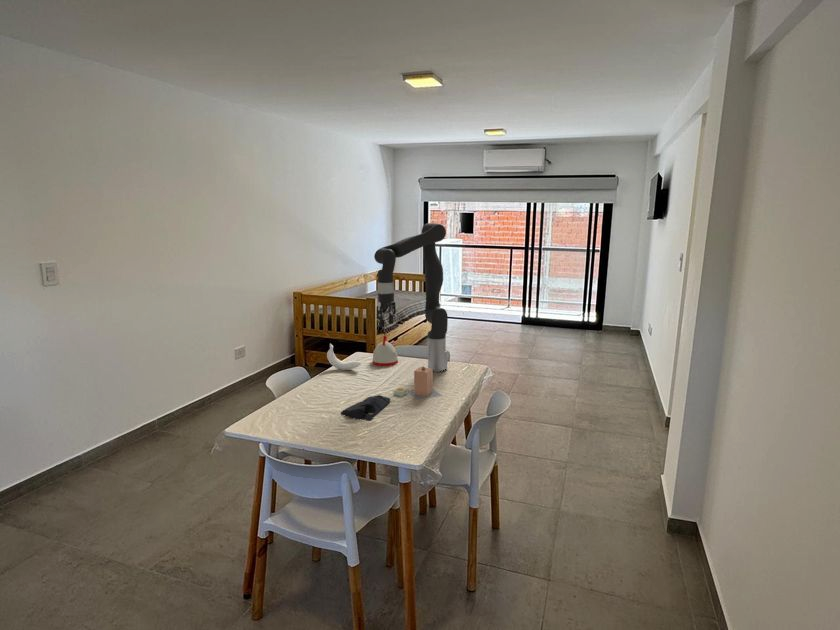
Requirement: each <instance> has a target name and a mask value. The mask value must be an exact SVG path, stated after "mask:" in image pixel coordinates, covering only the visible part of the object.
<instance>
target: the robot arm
mask: <svg viewBox="0 0 840 630" xmlns="http://www.w3.org/2000/svg"><path fill="white" fill-rule="evenodd" d="M446 234H447V230H446V227H445V226H444V224H442V223H439V222H438V223H437V222H427V223H424V225H423V226H422V229H421V233H420V234H416V235H413V236H409V237H406V238H403V239H401V240H399V241H396V242H395V243H393V244H389V245H385V246H383V247H381V248H379V249H377V250H376V251H375V252H374V257H373V258H374V261H375V262H376V263H377V264H380V265H381V264H382V267H381V269H379V270H378V272H377V301H378V303H380V305H377V306H376V319H377V320H379V328H381V329H383V328H385V327H386V326H385V325H386V324H385V322H386V321H385V318H386V316H387V315H388V324H389V325H393V324H394V316H395V315H396V313H397V310H396V306H397V305H396V302H395V287H394V270H395V267H396V260H397V258H402V257H404V256H406V255H408V254H410V253H412V252H413V251H417V250H419V249H420V248H423V259H424V261H423V262H424V282H425V283H424V284H425V306H424V307H425V309H424V315H425V316H424V317H425V320H426V321H427V322H428V323H430V324H431V326H430V327H431V328H430V330H429V331H428V333H427V368H431V369H433V371H434V372H433V373H440V371H441V372H444V371H446V370H445V369H447V370H448V351H446V350H447V349H446V348H447V346H446V345H447V344H446V342H447V341H446V340H447V339H446V338H447V337H446V336H447V332H448V324H449V323H448V321H449V317H448V312H447V310H446V309H444V308H443V307H441V306H440V292H441V289H442V287H443V283H444V268H443V264H442V262H441V260H440V257H439V256H438V253H437V250H436V243H438V242H441V241H443V240H444V239H445V237H446ZM443 370H444V371H443Z"/></svg>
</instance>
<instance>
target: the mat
mask: <svg viewBox="0 0 840 630" xmlns="http://www.w3.org/2000/svg"><path fill="white" fill-rule="evenodd" d="M407 393H409V394H410V395H411V396H412V397H414V399H416V400H417V401H420V400H425V399H426V400H427V399H430V398H437V397H442V396H443V395H442V394H441V393H439V392H438V391H437V390H436V389H434V388H433V392H432V393H431V394H430V395H428V396H421V395H415V390H414V389H412V390H407Z"/></svg>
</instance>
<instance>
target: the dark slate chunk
mask: <svg viewBox="0 0 840 630" xmlns="http://www.w3.org/2000/svg"><path fill="white" fill-rule="evenodd" d="M390 402H391V398H389V397H386V396H383V395H381V394H378V395H373V396H368V397H366V398H365V399H363V400H362V401H359V402H356V403H354V404H352V405H350V406H347V408H345V409H343V410H342V411H341V412H340V414H341V416H342V415H345V416H344V417H346V416H349V417H348V418H350V419H353V418H355V419H354V420H358V419H359V421H361V420H364V421H371V420H373V418H375V417H376V416H377V415H378V414H379V413H380V412H381V411H382V410H384V409H385V408H386V407H387V405H388V404H389V403H390ZM360 419H361V420H360Z"/></svg>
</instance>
